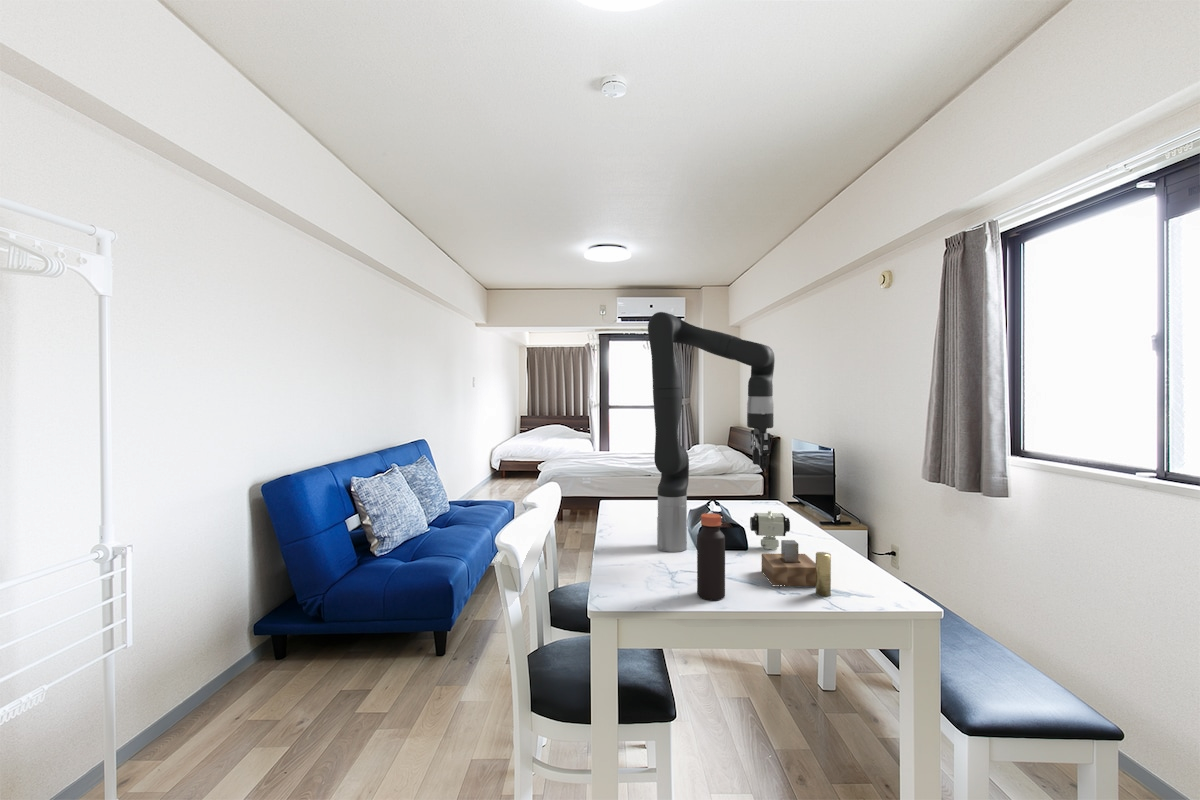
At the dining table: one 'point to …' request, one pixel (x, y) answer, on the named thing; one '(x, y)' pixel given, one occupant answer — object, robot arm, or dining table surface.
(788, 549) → the square bit
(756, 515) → the pneumatic valve
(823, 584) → the cylinder
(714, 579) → the bottle
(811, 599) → the dining table surface
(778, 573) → the socket block
